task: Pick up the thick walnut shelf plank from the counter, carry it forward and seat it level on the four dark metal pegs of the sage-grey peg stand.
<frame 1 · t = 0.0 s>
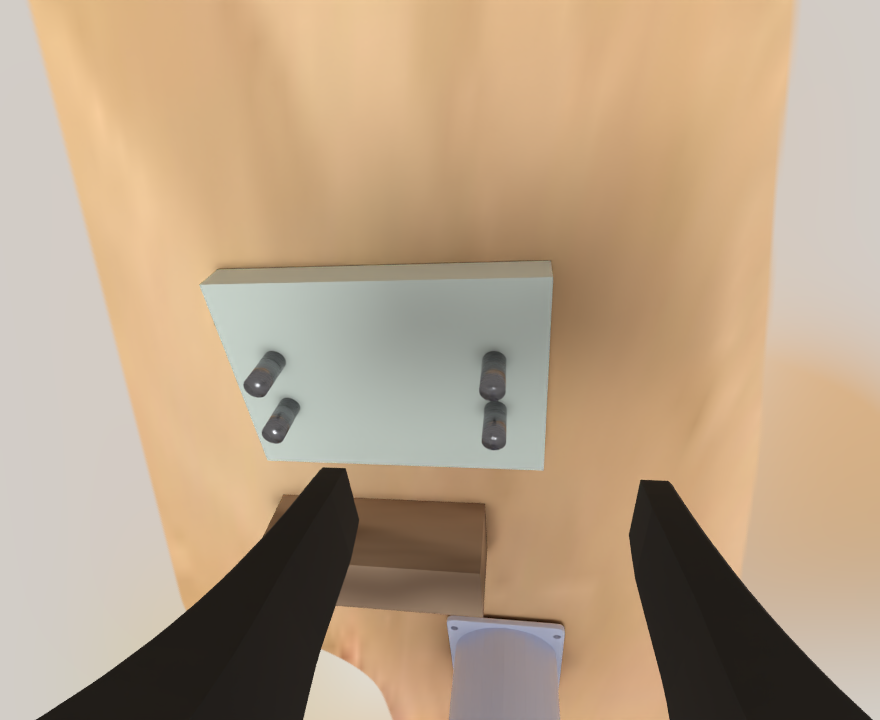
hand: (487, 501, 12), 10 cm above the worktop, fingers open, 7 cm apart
walnut plank: (386, 518, 30), on the worktop
peg stand: (392, 365, 23), on the worktop
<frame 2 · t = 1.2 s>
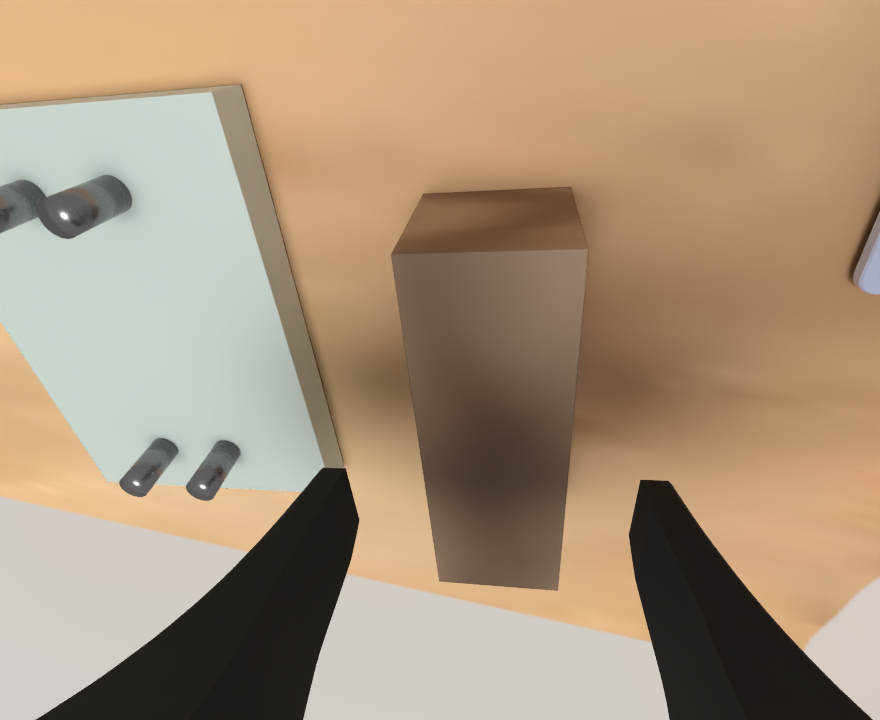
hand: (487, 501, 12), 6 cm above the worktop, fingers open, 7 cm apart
walnut plank: (499, 365, 17), on the worktop
peg stand: (170, 320, 18), on the worktop
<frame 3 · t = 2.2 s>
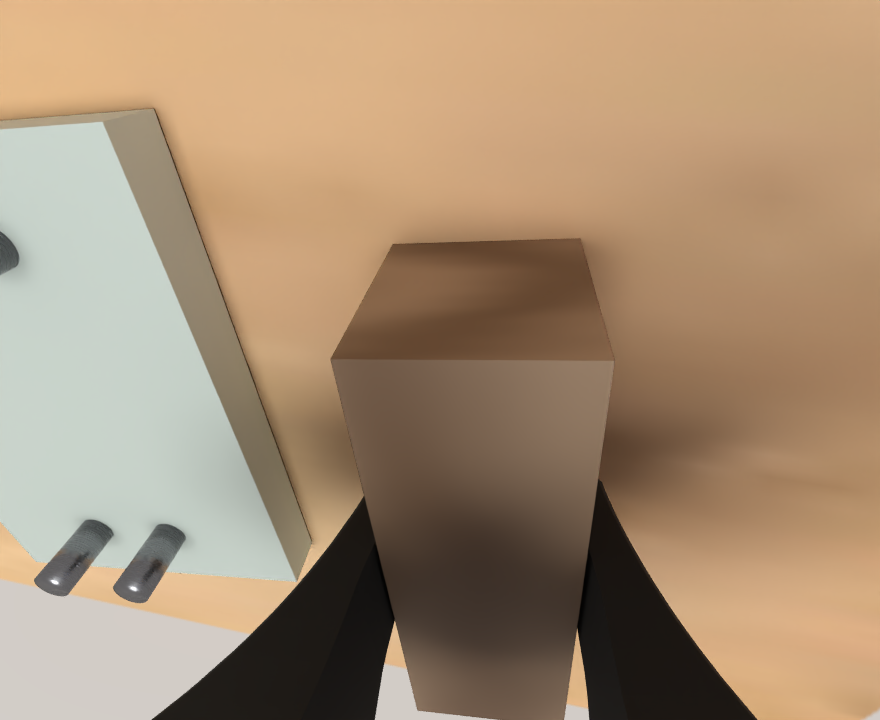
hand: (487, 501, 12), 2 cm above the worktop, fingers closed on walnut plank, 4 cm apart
walnut plank: (490, 445, 14), on the worktop, touching gripper
peg stand: (96, 385, 15), on the worktop
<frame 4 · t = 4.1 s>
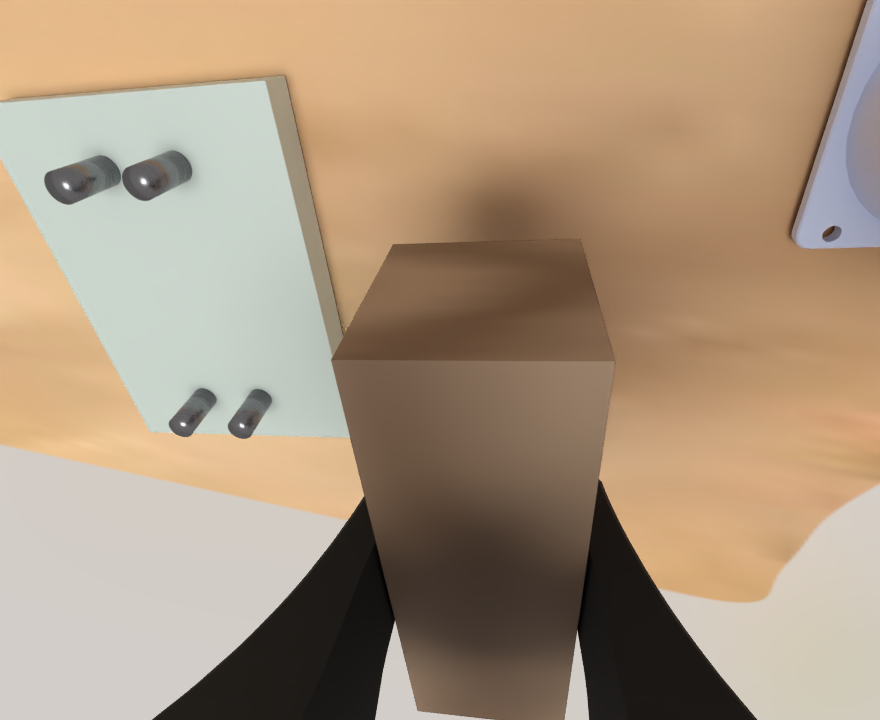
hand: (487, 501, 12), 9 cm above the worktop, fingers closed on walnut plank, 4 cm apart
walnut plank: (490, 445, 14), point 7 cm above the worktop, touching gripper
peg stand: (213, 282, 20), on the worktop
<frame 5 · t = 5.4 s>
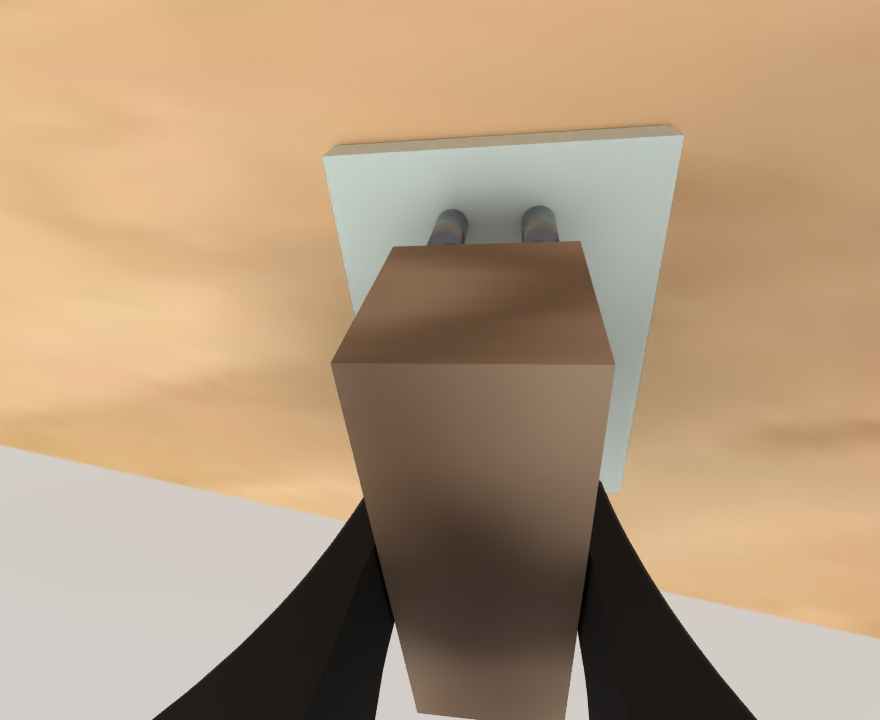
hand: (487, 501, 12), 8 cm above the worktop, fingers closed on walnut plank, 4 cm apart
walnut plank: (490, 447, 14), point 6 cm above the worktop, touching gripper
peg stand: (498, 333, 19), on the worktop
when the fingers open (6 cm above the worktop, at t = 6.1 s): walnut plank stays where it is, resting on peg stand.
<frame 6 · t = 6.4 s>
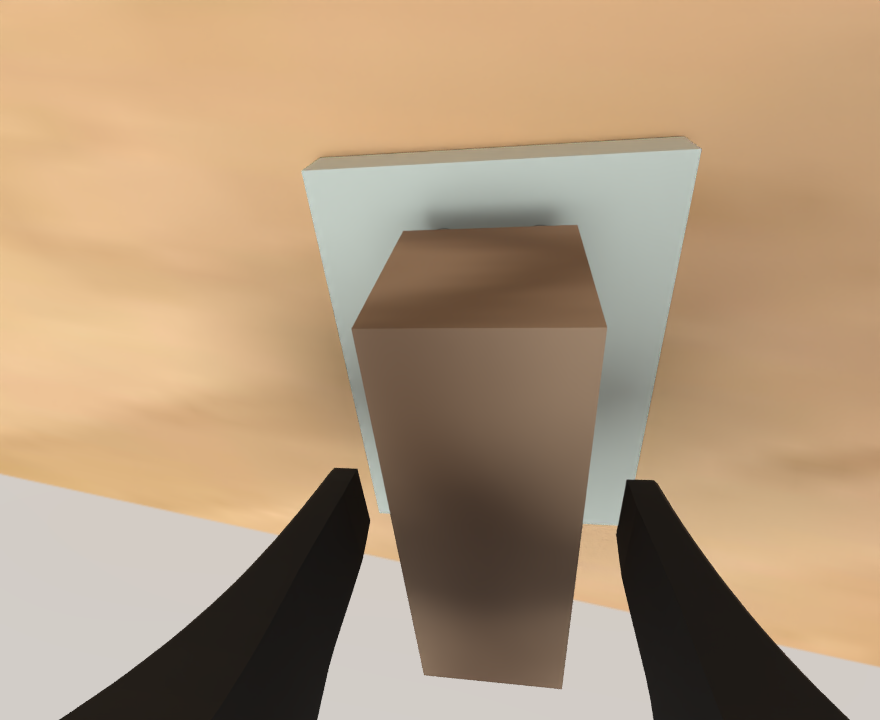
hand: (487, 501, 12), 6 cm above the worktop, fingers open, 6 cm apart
walnut plank: (493, 423, 15), point 3 cm above the worktop, touching peg stand
peg stand: (496, 357, 18), on the worktop
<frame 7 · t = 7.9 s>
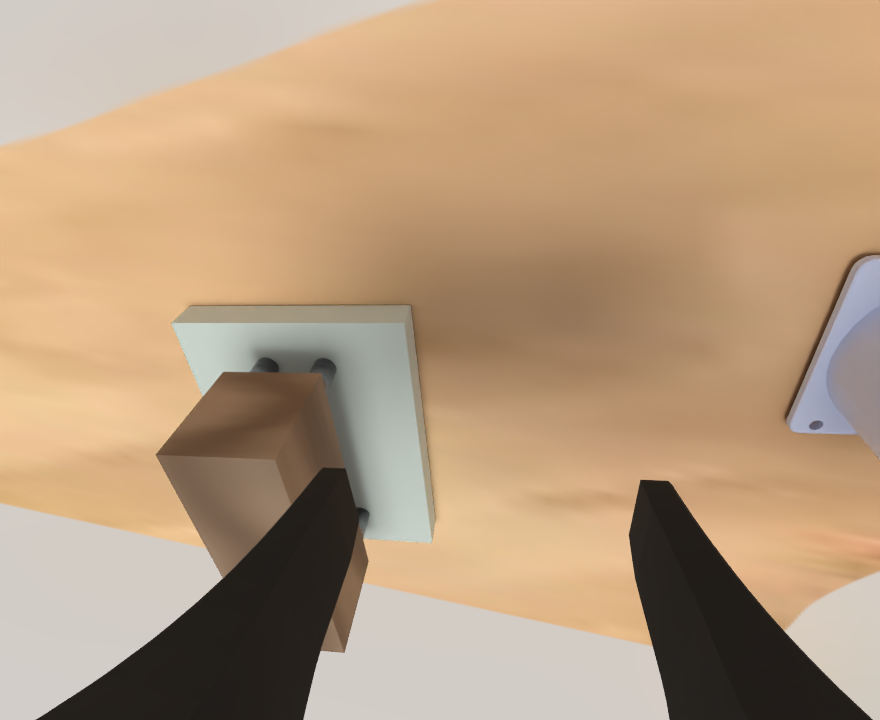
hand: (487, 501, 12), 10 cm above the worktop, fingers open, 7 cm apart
walnut plank: (305, 479, 22), point 3 cm above the worktop, touching peg stand
peg stand: (328, 426, 25), on the worktop
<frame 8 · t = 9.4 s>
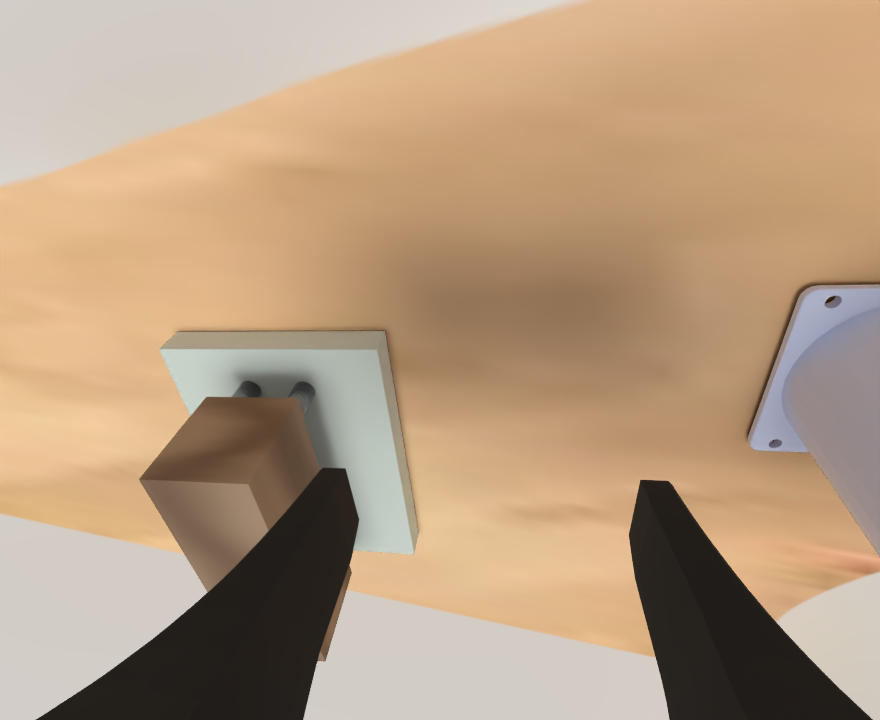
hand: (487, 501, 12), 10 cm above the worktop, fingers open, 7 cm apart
walnut plank: (288, 496, 24), point 3 cm above the worktop, touching peg stand
peg stand: (312, 443, 26), on the worktop
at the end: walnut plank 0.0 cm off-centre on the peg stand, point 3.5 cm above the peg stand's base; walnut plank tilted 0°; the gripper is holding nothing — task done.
